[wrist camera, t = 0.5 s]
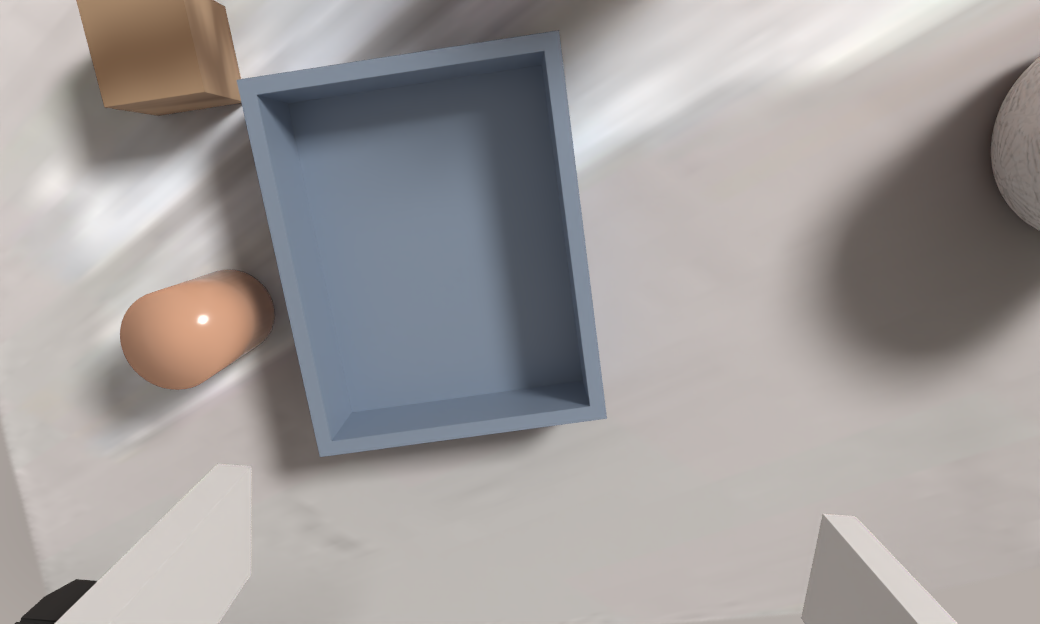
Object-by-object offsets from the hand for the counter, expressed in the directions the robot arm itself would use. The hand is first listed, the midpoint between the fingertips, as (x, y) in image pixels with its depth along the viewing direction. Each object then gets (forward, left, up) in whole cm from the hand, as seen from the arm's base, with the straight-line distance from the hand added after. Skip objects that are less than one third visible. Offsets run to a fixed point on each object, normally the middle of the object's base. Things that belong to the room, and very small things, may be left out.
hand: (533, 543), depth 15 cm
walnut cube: (-17, -16, -25) cm, 34 cm away
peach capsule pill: (-3, -17, -25) cm, 30 cm away
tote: (-5, -4, -25) cm, 25 cm away
